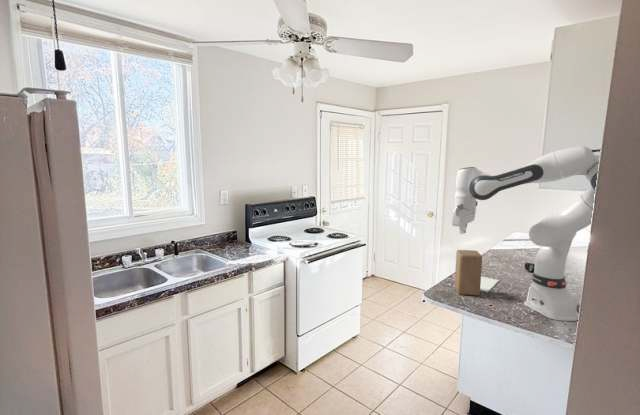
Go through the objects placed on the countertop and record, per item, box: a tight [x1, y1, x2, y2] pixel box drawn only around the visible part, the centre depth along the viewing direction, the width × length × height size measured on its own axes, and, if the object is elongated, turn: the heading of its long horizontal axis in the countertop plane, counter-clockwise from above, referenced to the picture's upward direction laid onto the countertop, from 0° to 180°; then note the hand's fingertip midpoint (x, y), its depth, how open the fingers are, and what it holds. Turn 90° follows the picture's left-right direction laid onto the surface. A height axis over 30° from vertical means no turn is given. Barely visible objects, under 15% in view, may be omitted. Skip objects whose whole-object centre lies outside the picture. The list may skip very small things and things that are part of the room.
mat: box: [480, 275, 500, 293], centre depth 179 cm, size 22×16×1 cm
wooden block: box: [454, 249, 483, 296], centre depth 165 cm, size 10×10×20 cm
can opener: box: [524, 262, 535, 273], centre depth 195 cm, size 18×7×6 cm, turn 47°
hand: (462, 233), depth 153 cm, fingers closed
